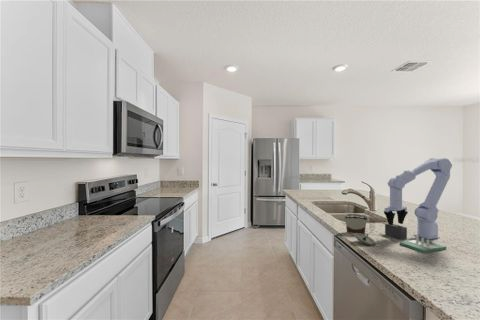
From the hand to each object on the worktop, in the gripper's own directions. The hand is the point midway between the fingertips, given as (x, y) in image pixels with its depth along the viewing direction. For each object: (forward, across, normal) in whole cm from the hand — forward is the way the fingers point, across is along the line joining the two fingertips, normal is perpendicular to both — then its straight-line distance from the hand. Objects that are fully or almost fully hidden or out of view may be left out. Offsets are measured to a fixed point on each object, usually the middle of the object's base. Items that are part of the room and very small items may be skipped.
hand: (395, 224), depth 136 cm
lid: (+7, +25, +2) cm, 26 cm away
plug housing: (+7, 0, -1) cm, 7 cm away
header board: (+7, +2, +16) cm, 18 cm away
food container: (+7, +15, -14) cm, 22 cm away
